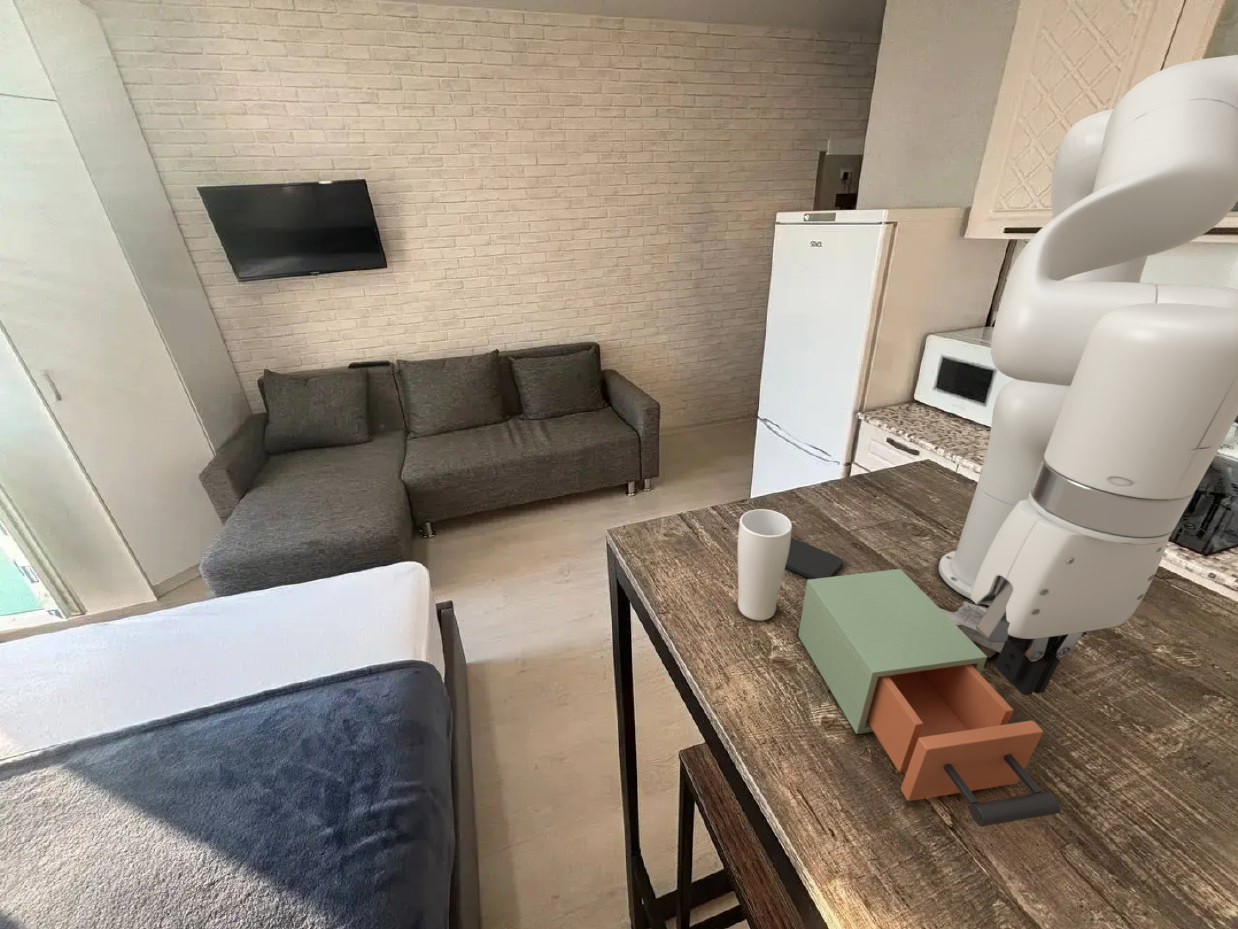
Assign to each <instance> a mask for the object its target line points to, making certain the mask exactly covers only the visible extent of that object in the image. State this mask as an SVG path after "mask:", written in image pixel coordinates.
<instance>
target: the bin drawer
mask: <svg viewBox="0 0 1238 929" xmlns="http://www.w3.org/2000/svg"><path fill="white" fill-rule="evenodd" d="M1013 712H1014V709H1013V707H1012V706H1011V705H1010V704H1009V703H1008V702H1007V701H1006V700H1005V698H1003V697H1002V695H1001V694H1000V693H999V692H998V691H997V690H996V689H995V688H994V687H993V686H992V685H991V684H990V683H989V682H988V680H986V679H985V677H984V676H983V675H982V673H981V674H980V673H979V672H978V671H977V670H976V669H975V668H974V667H973V666H972V665H971V664H968V665H961V666H954V667H947V668H939V669H932V670H925V671H918V672H911V673H903V674H896V675H889V676H882V677H878V680H877V684H876V687H875V691H874V695H873V698H872V702H871V706H870V709H869V713H868V717H867V722H868V723H869V725H870V726H871V728H872V730H873V731H874V732H873V733H874V735H875V736H876V738H877V739H878V741H879V743H880V745H881V746H882V748H883V749H884V751H885V752H886V754H887V755H888V757H889V759H890V760H891V762H892V763H893V765H894V766H895V768H896V770H897V771H898V773H905V772H906V773H905V775H904V778H903V780H902V784H901V787H900V791H901V792H902V795H903V796H904V797H905V799H906V800H907V802H912V801H918V800H924V799H931V798H936V797H943V796H948V795H954V794H955V795H956V794H961V796H962V797H963V798H964V800H965V801H966V803H967V804H968V805H969V807H968V808H969V809H968V810H969V813H970V816H971V818H972V820H973V821H974V823H975V824H976V825H977V826H978V827H983V828H984V827H989V826H994V825H1001V824H1005V823H1006V824H1007V823H1012V822H1018V821H1023V820H1030V819H1035V818H1040V817H1041V818H1042V817H1046V816H1052V815H1053V816H1054V815H1058V814H1060V813H1061V805H1060V803H1059V800H1058V799H1057V798H1056V796H1054V794H1053V793H1051V792H1049V791H1043V790H1042V789H1041V787H1040V786H1039V785H1038V784H1037V783H1036V782H1035V780H1034V779H1033V778H1032V777H1031V775H1030V774H1029V773H1028V772H1027V771H1026V770H1025V769H1026V767H1027V764H1028V763H1029V761H1030V759H1031V757H1032V755H1033V753H1034V751H1035V749H1036V747H1037V745H1038V744H1039V742H1040V740H1041V738H1042V736H1043V734H1044V730H1043V729H1042V728H1041V727H1040V726H1039V724H1038V723H1036V721H1035V720H1025V721H1019V722H1013V723H1009V721H1010V719H1011V717H1012V715H1013ZM1019 780H1020V781H1021V782H1022V783H1023V785H1025V787H1026V788H1027V789H1028V791H1030V792H1031V793H1028V794H1022V795H1016V796H1011V797H1004V798H998V799H993V800H986V801H980V802H979V800H978V799H977V798H976V796H975V794H974V793H973V791H979V790H986V789H990V788H991V789H992V788H997V787H1002V786H1003V787H1004V786H1011V785H1016V784H1018V782H1019Z"/></svg>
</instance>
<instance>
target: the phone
mask: <svg viewBox="0 0 1238 929" xmlns="http://www.w3.org/2000/svg"><path fill="white" fill-rule="evenodd" d="M843 564H844V560H843V558H841V557H840V556H838V555H835V554H833V553H830V552H828V551H825V550H824V549H820V548H818V547H816V546H813V545H811V544H808V543H805V542H804V541H801V540H798V539H796V538H794V537H791V543H790V549H789V555H788V559H787V563H786V567H785V569H787V570H789V571H791V572H794V573H796V574H798V575H801V576H804V577H805V578H807V579H809V580H810V579H818V578H827V577H834V576H835V575H836V573H838V571H839V570H840V569H841V568H842V566H843Z"/></svg>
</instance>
